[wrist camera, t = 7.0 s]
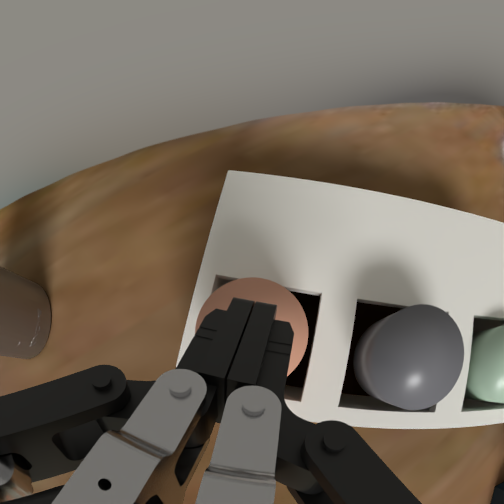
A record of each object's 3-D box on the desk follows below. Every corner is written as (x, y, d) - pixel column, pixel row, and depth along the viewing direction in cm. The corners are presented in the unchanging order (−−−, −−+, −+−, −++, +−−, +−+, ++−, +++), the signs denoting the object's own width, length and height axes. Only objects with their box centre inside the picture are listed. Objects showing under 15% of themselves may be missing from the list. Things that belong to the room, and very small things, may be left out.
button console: (209, 380, 24) (171, 389, 15) (245, 226, 28) (228, 170, 20) (467, 409, 19) (527, 418, 11) (479, 267, 24) (532, 232, 15)
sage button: (446, 399, 15) (477, 404, 12) (456, 329, 17) (488, 320, 13) (495, 398, 15) (528, 400, 11) (503, 333, 16) (536, 325, 12)
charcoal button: (345, 397, 15) (362, 407, 11) (360, 311, 17) (380, 297, 13) (422, 402, 14) (455, 410, 10) (434, 321, 16) (467, 309, 12)
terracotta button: (206, 371, 16) (184, 373, 13) (225, 288, 18) (209, 268, 14) (293, 389, 15) (295, 398, 12) (310, 303, 17) (317, 287, 13)
